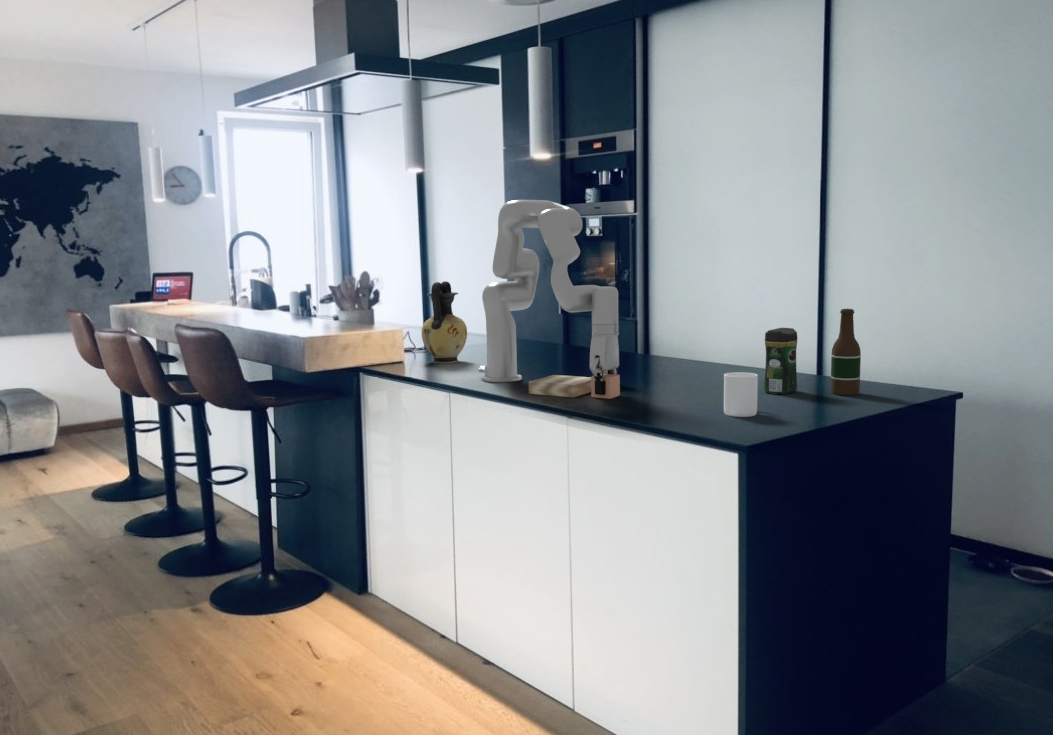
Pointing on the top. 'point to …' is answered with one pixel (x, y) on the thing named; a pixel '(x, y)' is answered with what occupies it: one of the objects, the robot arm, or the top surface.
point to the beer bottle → (846, 358)
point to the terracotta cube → (608, 386)
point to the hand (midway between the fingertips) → (605, 392)
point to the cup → (740, 394)
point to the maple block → (561, 386)
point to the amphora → (443, 326)
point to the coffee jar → (780, 361)
